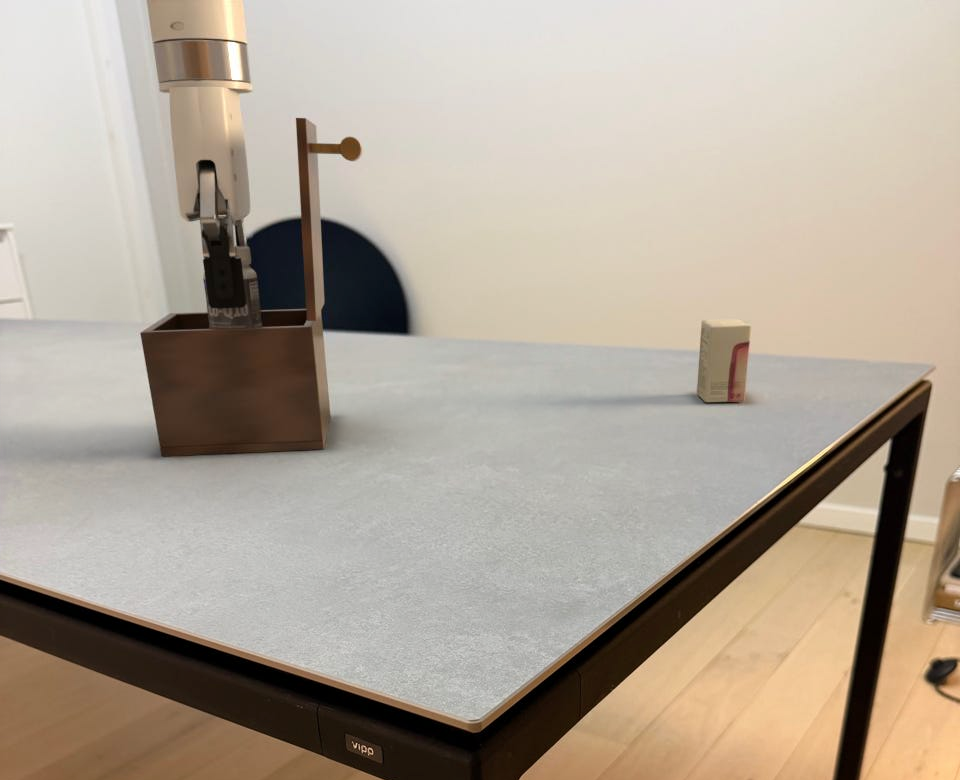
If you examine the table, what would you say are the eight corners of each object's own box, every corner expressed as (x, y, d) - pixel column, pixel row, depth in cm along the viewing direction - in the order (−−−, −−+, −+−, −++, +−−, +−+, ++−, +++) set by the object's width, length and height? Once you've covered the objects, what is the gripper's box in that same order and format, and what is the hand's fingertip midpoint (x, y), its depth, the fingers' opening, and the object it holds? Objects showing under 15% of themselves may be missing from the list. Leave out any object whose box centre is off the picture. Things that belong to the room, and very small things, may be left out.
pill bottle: (205, 348, 86) (191, 248, 83) (220, 340, 90) (207, 245, 87) (257, 348, 86) (245, 248, 82) (269, 340, 90) (259, 244, 87)
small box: (745, 402, 100) (753, 324, 97) (704, 403, 101) (710, 325, 97) (734, 393, 105) (741, 318, 101) (695, 393, 105) (701, 319, 102)
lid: (295, 117, 75) (359, 119, 76) (307, 125, 86) (362, 126, 87) (306, 321, 82) (365, 321, 82) (316, 303, 93) (367, 303, 94)
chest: (161, 456, 86) (139, 332, 81) (187, 423, 97) (169, 313, 92) (323, 449, 87) (312, 326, 82) (330, 418, 98) (320, 308, 93)
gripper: (177, 81, 86) (206, 294, 94) (133, 60, 71) (172, 317, 79) (261, 80, 87) (283, 292, 95) (235, 60, 71) (263, 314, 79)
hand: (232, 301), depth 87 cm, fingers closed on pill bottle, 4 cm apart
